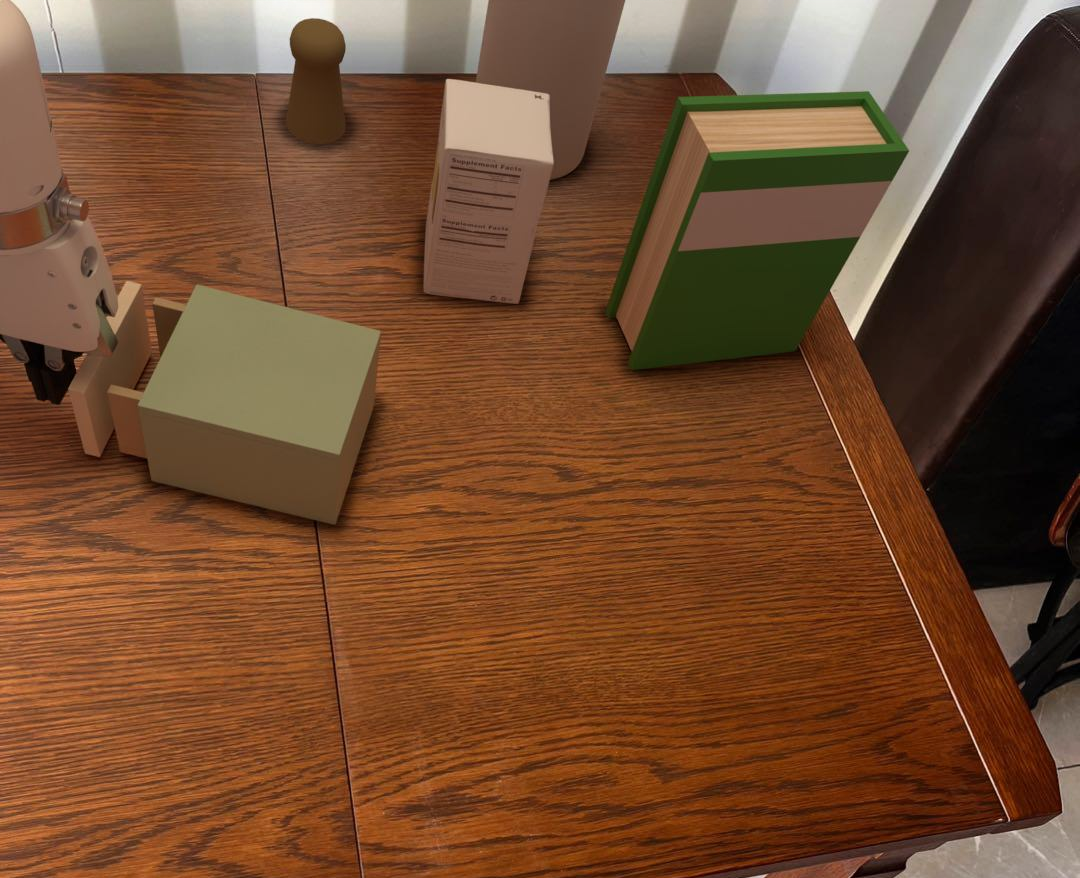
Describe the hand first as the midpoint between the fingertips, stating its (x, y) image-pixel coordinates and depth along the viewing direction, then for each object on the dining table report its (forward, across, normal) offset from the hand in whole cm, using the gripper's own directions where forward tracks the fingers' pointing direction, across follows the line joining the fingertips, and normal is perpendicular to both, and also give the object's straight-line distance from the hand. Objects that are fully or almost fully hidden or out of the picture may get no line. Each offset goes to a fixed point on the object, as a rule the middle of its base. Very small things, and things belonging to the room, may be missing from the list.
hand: (56, 388), depth 82 cm
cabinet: (+5, -15, -3) cm, 16 cm away
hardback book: (+5, -50, -28) cm, 58 cm away
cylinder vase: (+5, -29, -49) cm, 57 cm away
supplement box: (+5, -27, -29) cm, 40 cm away
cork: (+5, -8, -43) cm, 44 cm away
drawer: (+4, -9, -3) cm, 10 cm away
